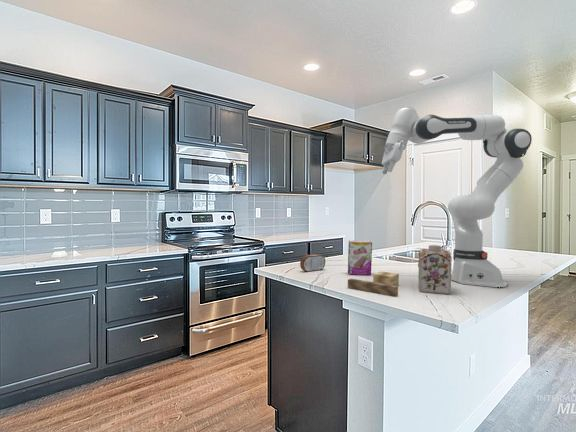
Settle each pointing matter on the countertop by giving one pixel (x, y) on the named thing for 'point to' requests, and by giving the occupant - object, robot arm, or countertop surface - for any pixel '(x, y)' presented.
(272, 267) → the countertop surface
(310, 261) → the tin
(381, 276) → the oak block
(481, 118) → the robot arm
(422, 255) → the decorative jar
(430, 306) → the countertop surface
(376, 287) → the walnut board
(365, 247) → the candy bar box
